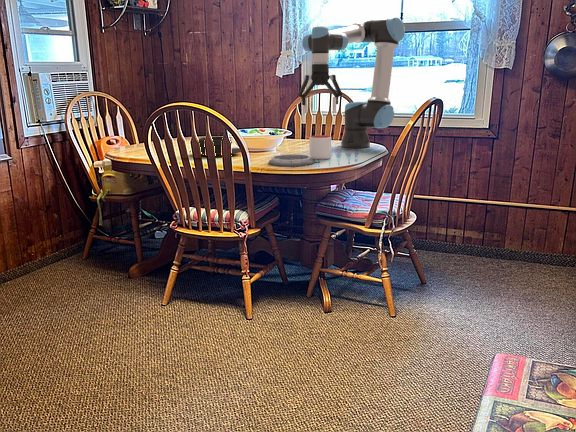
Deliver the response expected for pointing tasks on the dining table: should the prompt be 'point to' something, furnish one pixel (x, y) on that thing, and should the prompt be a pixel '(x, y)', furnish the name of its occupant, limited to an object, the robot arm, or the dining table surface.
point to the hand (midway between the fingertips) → (320, 112)
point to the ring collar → (291, 160)
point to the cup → (320, 147)
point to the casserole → (217, 145)
